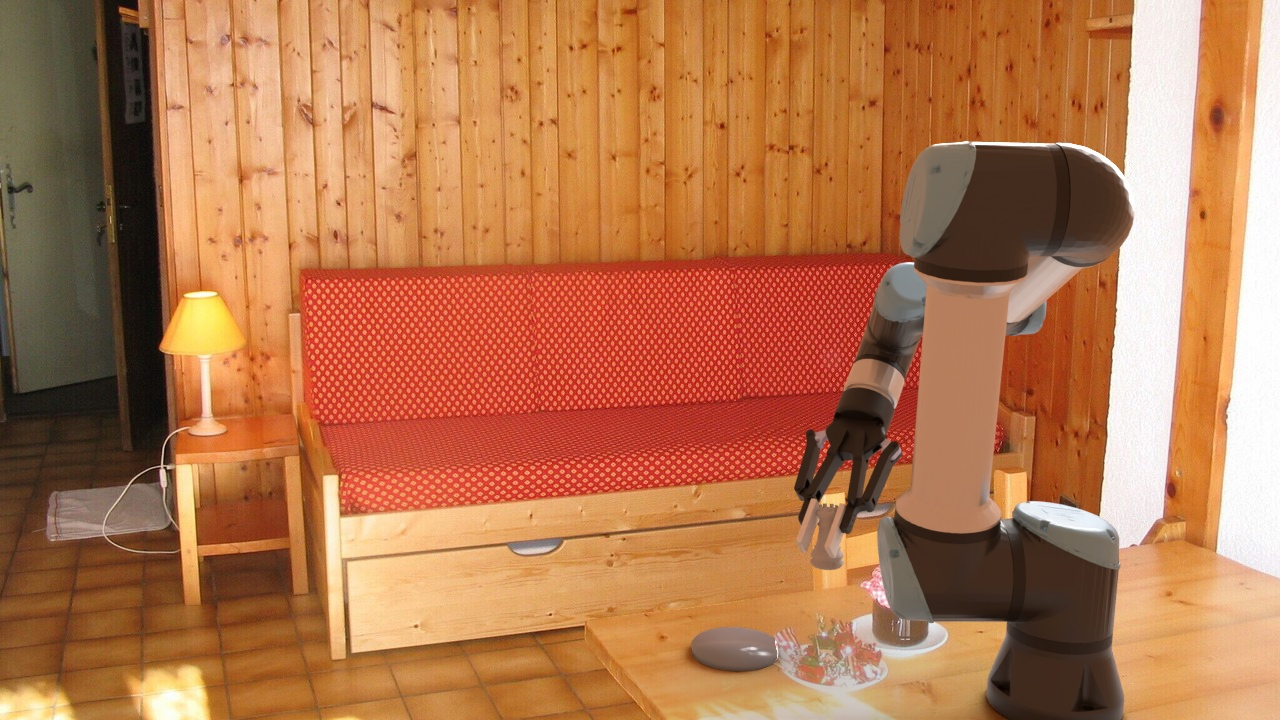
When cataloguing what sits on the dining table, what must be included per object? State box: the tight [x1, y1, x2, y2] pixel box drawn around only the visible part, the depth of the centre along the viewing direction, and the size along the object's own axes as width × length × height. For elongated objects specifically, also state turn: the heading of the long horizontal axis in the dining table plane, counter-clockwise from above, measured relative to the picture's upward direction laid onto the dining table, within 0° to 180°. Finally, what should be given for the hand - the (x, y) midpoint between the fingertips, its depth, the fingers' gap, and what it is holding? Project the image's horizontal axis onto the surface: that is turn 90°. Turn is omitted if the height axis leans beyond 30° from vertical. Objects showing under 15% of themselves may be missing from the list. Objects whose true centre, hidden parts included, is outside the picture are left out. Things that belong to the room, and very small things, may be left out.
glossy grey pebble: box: [691, 626, 778, 672], centre depth 161 cm, size 11×11×1 cm
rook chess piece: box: [809, 503, 845, 571], centre depth 166 cm, size 4×4×8 cm
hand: (815, 549), depth 163 cm, fingers closed on rook chess piece, 3 cm apart
